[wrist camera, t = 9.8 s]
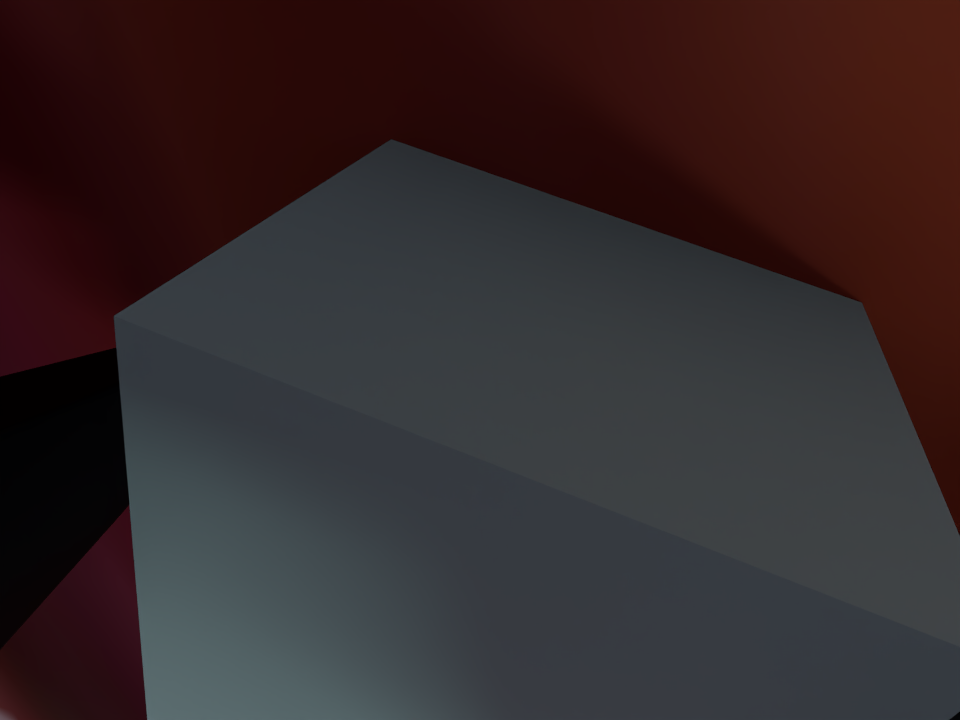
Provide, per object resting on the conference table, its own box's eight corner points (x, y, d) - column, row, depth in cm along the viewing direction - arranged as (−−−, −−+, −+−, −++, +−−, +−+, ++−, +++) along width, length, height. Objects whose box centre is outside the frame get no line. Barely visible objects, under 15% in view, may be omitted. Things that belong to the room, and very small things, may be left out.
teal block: (860, 298, 8) (1015, 668, 4) (662, 596, 11) (636, 959, 7) (394, 137, 9) (114, 316, 5) (338, 466, 12) (148, 738, 8)
